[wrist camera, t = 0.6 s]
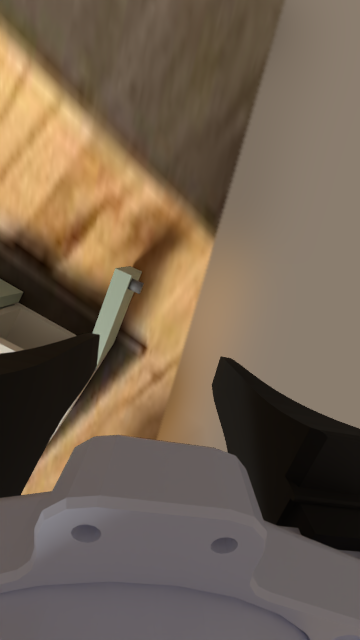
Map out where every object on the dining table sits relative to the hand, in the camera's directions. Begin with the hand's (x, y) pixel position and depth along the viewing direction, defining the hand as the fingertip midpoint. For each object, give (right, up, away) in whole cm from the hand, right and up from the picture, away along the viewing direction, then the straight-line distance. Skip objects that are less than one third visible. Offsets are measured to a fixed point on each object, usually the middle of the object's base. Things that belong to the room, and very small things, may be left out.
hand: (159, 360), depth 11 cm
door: (-5, +3, +8) cm, 10 cm away
